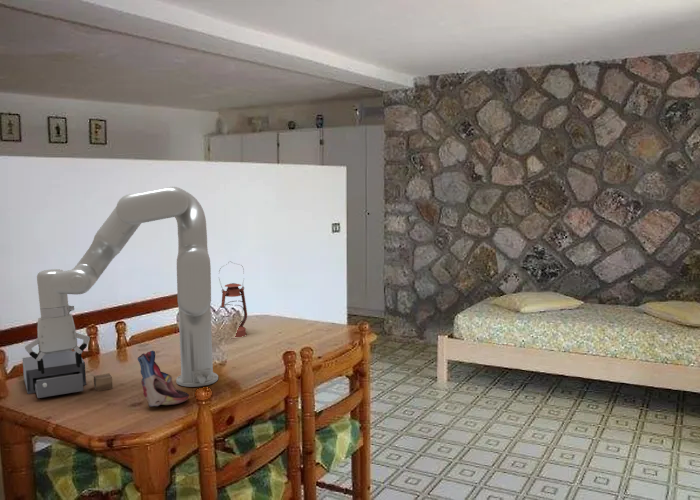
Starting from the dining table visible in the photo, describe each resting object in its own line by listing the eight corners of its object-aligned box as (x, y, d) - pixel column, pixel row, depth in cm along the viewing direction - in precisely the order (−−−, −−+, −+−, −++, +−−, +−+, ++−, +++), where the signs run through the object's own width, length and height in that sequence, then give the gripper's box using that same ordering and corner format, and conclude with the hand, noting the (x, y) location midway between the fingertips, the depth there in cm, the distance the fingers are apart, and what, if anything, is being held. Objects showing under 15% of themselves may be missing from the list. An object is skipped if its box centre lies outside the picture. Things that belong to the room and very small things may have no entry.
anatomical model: (185, 410, 173) (183, 355, 171) (137, 411, 172) (134, 357, 170) (191, 398, 182) (188, 346, 181) (145, 400, 181) (143, 348, 180)
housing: (86, 384, 196) (84, 362, 195) (27, 393, 188) (26, 370, 187) (78, 371, 209) (77, 350, 209) (23, 379, 201) (22, 357, 201)
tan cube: (112, 388, 192) (112, 377, 191) (96, 391, 190) (96, 379, 189) (109, 384, 196) (109, 373, 195) (94, 386, 193) (93, 375, 193)
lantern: (241, 339, 250) (238, 262, 247) (216, 338, 252) (213, 262, 249) (250, 333, 260) (247, 259, 256) (226, 332, 262) (223, 259, 258)
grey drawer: (83, 391, 186) (82, 374, 186) (37, 398, 180) (36, 381, 180) (76, 377, 200) (75, 361, 199) (33, 383, 194) (32, 367, 193)
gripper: (84, 306, 193) (90, 361, 195) (20, 314, 185) (26, 372, 187) (88, 310, 187) (94, 367, 189) (22, 319, 178) (28, 378, 180)
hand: (60, 369), depth 188 cm, fingers open, 9 cm apart
